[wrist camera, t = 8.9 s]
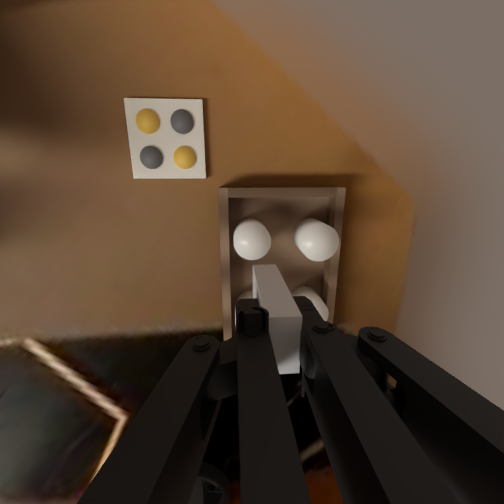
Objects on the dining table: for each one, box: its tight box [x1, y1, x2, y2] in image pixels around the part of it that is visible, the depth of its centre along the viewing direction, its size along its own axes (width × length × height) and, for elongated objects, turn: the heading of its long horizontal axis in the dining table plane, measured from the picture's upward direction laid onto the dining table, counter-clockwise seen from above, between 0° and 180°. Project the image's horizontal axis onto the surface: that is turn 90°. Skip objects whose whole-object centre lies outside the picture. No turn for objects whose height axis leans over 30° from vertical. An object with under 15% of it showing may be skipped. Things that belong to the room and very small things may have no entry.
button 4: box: [233, 218, 271, 260], centre depth 29 cm, size 4×4×4 cm
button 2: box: [293, 218, 339, 261], centre depth 29 cm, size 4×4×4 cm
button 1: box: [291, 286, 329, 321], centre depth 32 cm, size 4×4×4 cm
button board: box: [218, 187, 346, 341], centre depth 32 cm, size 20×14×3 cm
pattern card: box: [124, 98, 206, 178], centre depth 28 cm, size 8×8×1 cm
